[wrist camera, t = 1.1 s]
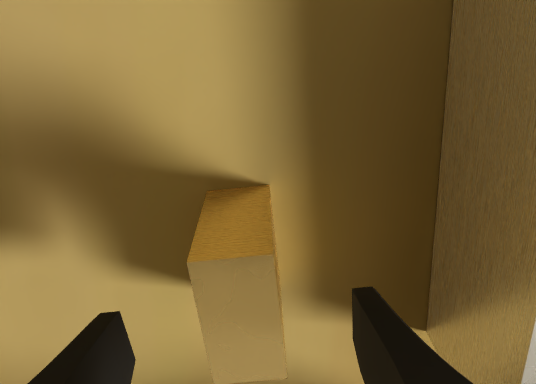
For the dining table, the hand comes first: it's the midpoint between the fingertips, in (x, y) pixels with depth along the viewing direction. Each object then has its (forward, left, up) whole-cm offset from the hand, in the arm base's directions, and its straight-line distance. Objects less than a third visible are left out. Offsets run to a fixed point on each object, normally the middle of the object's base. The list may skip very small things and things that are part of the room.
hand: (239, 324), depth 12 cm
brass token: (0, 0, -5) cm, 5 cm away
